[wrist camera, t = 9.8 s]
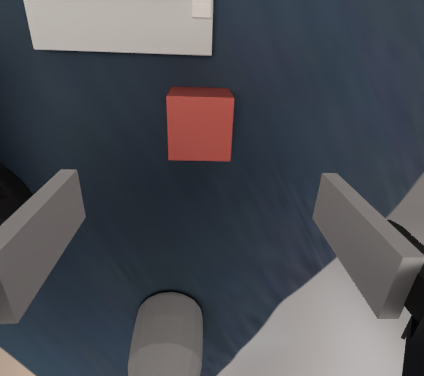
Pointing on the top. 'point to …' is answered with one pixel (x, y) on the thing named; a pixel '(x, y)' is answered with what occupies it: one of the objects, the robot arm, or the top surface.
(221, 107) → the brick-red cube
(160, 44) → the panel
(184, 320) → the soap bottle
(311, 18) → the top surface
